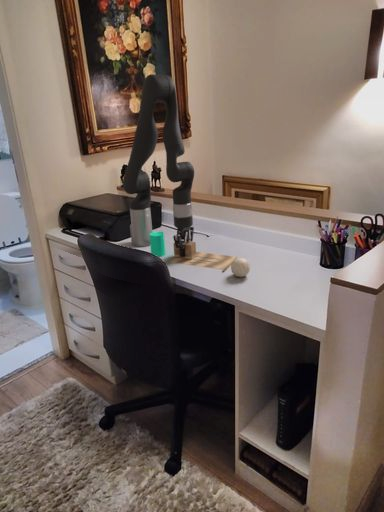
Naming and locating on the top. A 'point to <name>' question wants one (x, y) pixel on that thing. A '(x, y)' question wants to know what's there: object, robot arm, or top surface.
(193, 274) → the top surface
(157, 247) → the candle
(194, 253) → the block
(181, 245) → the robot arm
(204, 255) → the board
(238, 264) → the baseball
